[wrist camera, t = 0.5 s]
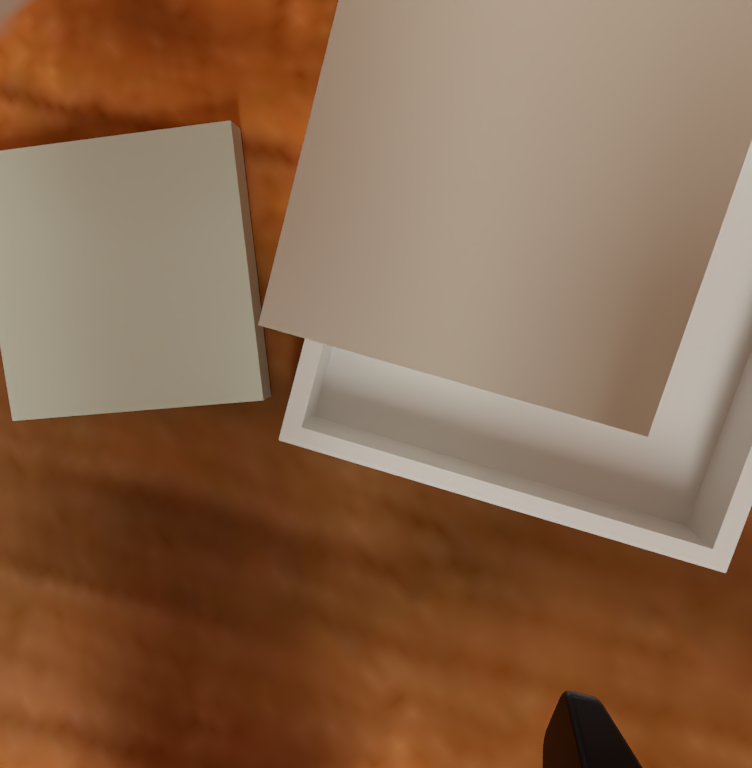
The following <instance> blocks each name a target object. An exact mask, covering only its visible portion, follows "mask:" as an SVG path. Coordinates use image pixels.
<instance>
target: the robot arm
mask: <svg viewBox="0 0 752 768" xmlns="http://www.w3.org/2000/svg"><path fill="white" fill-rule="evenodd" d="M543 768H642V766H641V765H640V763H639V762H638V760H637V758H636V757H635V755H634V754H633V752H632V750H631V749H630V747H629V746H628V744H627V742H626V741H625V739H624V738H623V736H622V734H621V733H620V731H619V730H618V728H617V727H616V725H615V723H614V722H613V720H612V719H611V717H610V715H609V714H608V712H607V711H606V709H605V707H604V706H603V704H602V703H601V702H600V701H599V700H598V699H597V698H596V697H593V696H590V695H586V694H582V693H577V692H573V691H565V692H564V693H563V694H562V695H561V697H560V699H559V701H558V704H557V706H556V708H555V711H554V713H553V715H552V718H551V720H550V722H549V725H548V727H547V730H546V733H545V737H544V744H543Z"/></svg>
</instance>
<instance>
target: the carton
mask: <svg viewBox="0 0 752 768" xmlns="http://www.w3.org/2000/svg"><path fill="white" fill-rule="evenodd" d="M751 141H752V0H338V4H337V8H336V12H335V16H334V20H333V25H332V29H331V33H330V37H329V41H328V45H327V49H326V53H325V57H324V61H323V65H322V69H321V73H320V77H319V81H318V85H317V89H316V93H315V97H314V101H313V105H312V109H311V113H310V117H309V121H308V126H307V130H306V134H305V138H304V142H303V146H302V150H301V154H300V158H299V162H298V166H297V170H296V174H295V178H294V182H293V186H292V190H291V194H290V198H289V202H288V206H287V210H286V214H285V218H284V222H283V227H282V231H281V235H280V239H279V243H278V247H277V251H276V255H275V259H274V263H273V267H272V271H271V275H270V279H269V283H268V287H267V291H266V295H265V299H264V303H263V307H262V311H261V315H260V319H259V324H258V325H259V326H263V327H266V328H270V329H273V330H277V331H280V332H284V333H287V334H291V335H294V336H298V337H301V338H305V339H308V340H312V341H315V342H319V343H322V344H326V345H329V346H333V347H336V348H340V349H343V350H347V351H350V352H354V353H357V354H361V355H364V356H368V357H371V358H375V359H378V360H382V361H385V362H388V363H392V364H395V365H399V366H402V367H406V368H409V369H413V370H416V371H420V372H423V373H427V374H430V375H434V376H437V377H441V378H444V379H448V380H451V381H455V382H458V383H462V384H465V385H469V386H472V387H476V388H479V389H483V390H486V391H490V392H493V393H497V394H500V395H504V396H507V397H511V398H514V399H518V400H521V401H524V402H528V403H531V404H535V405H538V406H542V407H545V408H549V409H552V410H556V411H559V412H563V413H566V414H570V415H573V416H577V417H580V418H584V419H587V420H591V421H594V422H598V423H601V424H605V425H608V426H612V427H615V428H619V429H622V430H626V431H629V432H633V433H636V434H640V435H643V436H647V437H648V435H649V432H650V429H651V426H652V423H653V420H654V417H655V415H656V412H657V409H658V406H659V403H660V400H661V397H662V395H663V392H664V389H665V386H666V383H667V380H668V377H669V375H670V372H671V369H672V366H673V363H674V360H675V357H676V355H677V352H678V349H679V346H680V343H681V340H682V337H683V335H684V332H685V329H686V326H687V323H688V320H689V318H690V315H691V312H692V309H693V306H694V303H695V300H696V298H697V295H698V292H699V289H700V286H701V283H702V280H703V278H704V275H705V272H706V269H707V266H708V263H709V260H710V258H711V255H712V252H713V249H714V246H715V243H716V240H717V238H718V235H719V232H720V229H721V226H722V223H723V220H724V218H725V215H726V212H727V209H728V206H729V203H730V201H731V198H732V195H733V192H734V189H735V186H736V183H737V181H738V178H739V175H740V172H741V169H742V166H743V163H744V161H745V158H746V155H747V152H748V149H749V146H750V143H751Z"/></svg>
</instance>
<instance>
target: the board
mask: <svg viewBox="0 0 752 768" xmlns="http://www.w3.org/2000/svg"><path fill="white" fill-rule="evenodd" d="M260 315H261V303H260V295H259V286H258V277H257V269H256V260H255V251H254V243H253V234H252V225H251V217H250V208H249V199H248V191H247V182H246V174H245V165H244V156H243V148H242V139H241V130H240V128H239V127H238V126H237V125H235V124H234V123H233V122H232V121H231V120H229V121H221V122H213V123H206V124H198V125H191V126H183V127H176V128H168V129H160V130H153V131H145V132H138V133H130V134H122V135H115V136H107V137H100V138H92V139H85V140H77V141H69V142H62V143H54V144H47V145H39V146H32V147H24V148H16V149H9V150H1V151H0V348H1V354H2V360H3V366H4V372H5V378H6V384H7V391H8V397H9V403H10V409H11V415H12V421H18V420H30V419H43V418H55V417H67V416H79V415H91V414H104V413H116V412H128V411H140V410H152V409H165V408H177V407H189V406H201V405H213V404H225V403H238V402H250V401H262V400H265V399H267V398H269V397H270V396H271V390H270V381H269V373H268V364H267V355H266V347H265V338H264V329H263V326H259V325H258V324H259V319H260Z"/></svg>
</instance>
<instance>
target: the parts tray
mask: <svg viewBox="0 0 752 768" xmlns="http://www.w3.org/2000/svg"><path fill="white" fill-rule="evenodd" d="M279 441H283V442H286V443H289V444H293V445H296V446H300V447H303V448H306V449H310V450H313V451H316V452H320V453H323V454H326V455H330V456H333V457H337V458H340V459H343V460H347V461H350V462H353V463H357V464H360V465H363V466H367V467H370V468H374V469H377V470H380V471H384V472H387V473H390V474H394V475H397V476H400V477H404V478H407V479H410V480H414V481H417V482H421V483H424V484H427V485H431V486H434V487H437V488H441V489H444V490H447V491H451V492H454V493H458V494H461V495H464V496H468V497H471V498H474V499H478V500H481V501H484V502H488V503H491V504H494V505H498V506H501V507H505V508H508V509H511V510H515V511H518V512H521V513H525V514H528V515H531V516H535V517H538V518H542V519H545V520H548V521H552V522H555V523H558V524H562V525H565V526H568V527H572V528H575V529H578V530H582V531H585V532H589V533H592V534H595V535H599V536H602V537H605V538H609V539H612V540H615V541H619V542H622V543H626V544H629V545H632V546H636V547H639V548H642V549H646V550H649V551H652V552H656V553H659V554H662V555H666V556H669V557H673V558H676V559H679V560H683V561H686V562H689V563H693V564H696V565H699V566H703V567H706V568H710V569H713V570H716V571H720V572H723V573H726V572H727V569H728V566H729V564H730V561H731V559H732V556H733V553H734V551H735V548H736V545H737V543H738V540H739V538H740V535H741V532H742V530H743V527H744V525H745V522H746V519H747V517H748V514H749V511H750V509H751V506H752V141H751V143H750V146H749V149H748V152H747V155H746V158H745V161H744V163H743V166H742V169H741V172H740V175H739V178H738V181H737V183H736V186H735V189H734V192H733V195H732V198H731V201H730V203H729V206H728V209H727V212H726V215H725V218H724V220H723V223H722V226H721V229H720V232H719V235H718V238H717V240H716V243H715V246H714V249H713V252H712V255H711V258H710V260H709V263H708V266H707V269H706V272H705V275H704V278H703V280H702V283H701V286H700V289H699V292H698V295H697V298H696V300H695V303H694V306H693V309H692V312H691V315H690V318H689V320H688V323H687V326H686V329H685V332H684V335H683V337H682V340H681V343H680V346H679V349H678V352H677V355H676V357H675V360H674V363H673V366H672V369H671V372H670V375H669V377H668V380H667V383H666V386H665V389H664V392H663V395H662V397H661V400H660V403H659V406H658V409H657V412H656V415H655V417H654V420H653V423H652V426H651V429H650V432H649V435H648V437H647V436H643V435H640V434H636V433H633V432H629V431H626V430H622V429H619V428H615V427H612V426H608V425H605V424H601V423H598V422H594V421H591V420H587V419H584V418H580V417H577V416H573V415H570V414H566V413H563V412H559V411H556V410H552V409H549V408H545V407H542V406H538V405H535V404H531V403H528V402H524V401H521V400H518V399H514V398H511V397H507V396H504V395H500V394H497V393H493V392H490V391H486V390H483V389H479V388H476V387H472V386H469V385H465V384H462V383H458V382H455V381H451V380H448V379H444V378H441V377H437V376H434V375H430V374H427V373H423V372H420V371H416V370H413V369H409V368H406V367H402V366H399V365H395V364H392V363H388V362H385V361H382V360H378V359H375V358H371V357H368V356H364V355H361V354H357V353H354V352H350V351H347V350H343V349H340V348H336V347H333V346H329V345H326V344H322V343H319V342H315V341H312V340H308V339H305V340H304V343H303V347H302V351H301V355H300V359H299V363H298V367H297V370H296V374H295V378H294V382H293V386H292V390H291V394H290V397H289V401H288V405H287V409H286V413H285V417H284V421H283V424H282V428H281V432H280V436H279Z"/></svg>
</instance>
